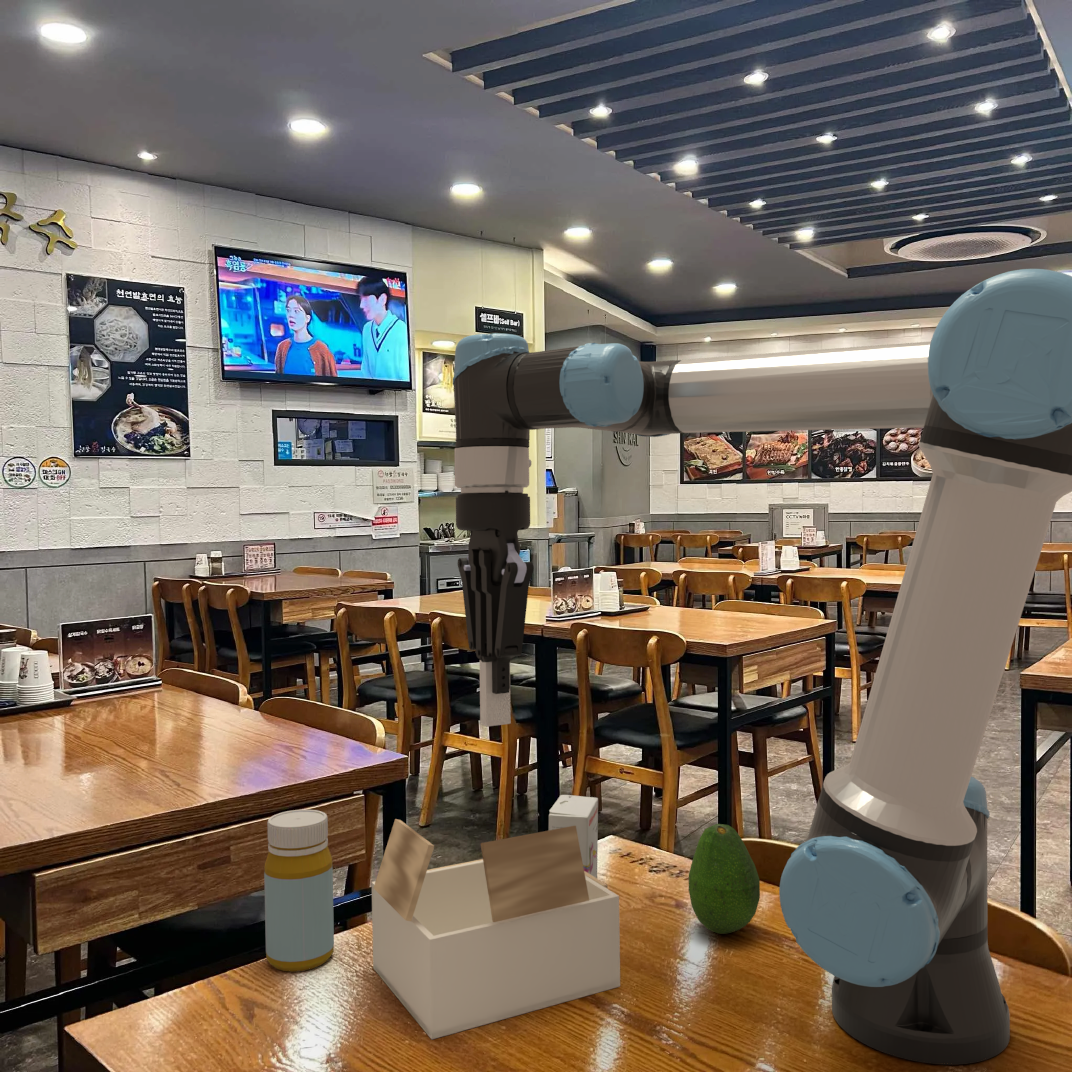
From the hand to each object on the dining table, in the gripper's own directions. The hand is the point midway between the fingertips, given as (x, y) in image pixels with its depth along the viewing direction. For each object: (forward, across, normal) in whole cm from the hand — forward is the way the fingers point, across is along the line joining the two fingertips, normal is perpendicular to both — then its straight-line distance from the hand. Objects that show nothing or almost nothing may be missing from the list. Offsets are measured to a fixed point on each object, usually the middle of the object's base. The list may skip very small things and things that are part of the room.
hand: (495, 723), depth 101 cm
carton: (+26, -1, +1) cm, 26 cm away
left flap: (+16, -1, +12) cm, 20 cm away
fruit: (+26, -4, -26) cm, 37 cm away
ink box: (+26, +12, -16) cm, 33 cm away
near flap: (+16, -10, 0) cm, 19 cm away
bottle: (+26, +13, +17) cm, 34 cm away
